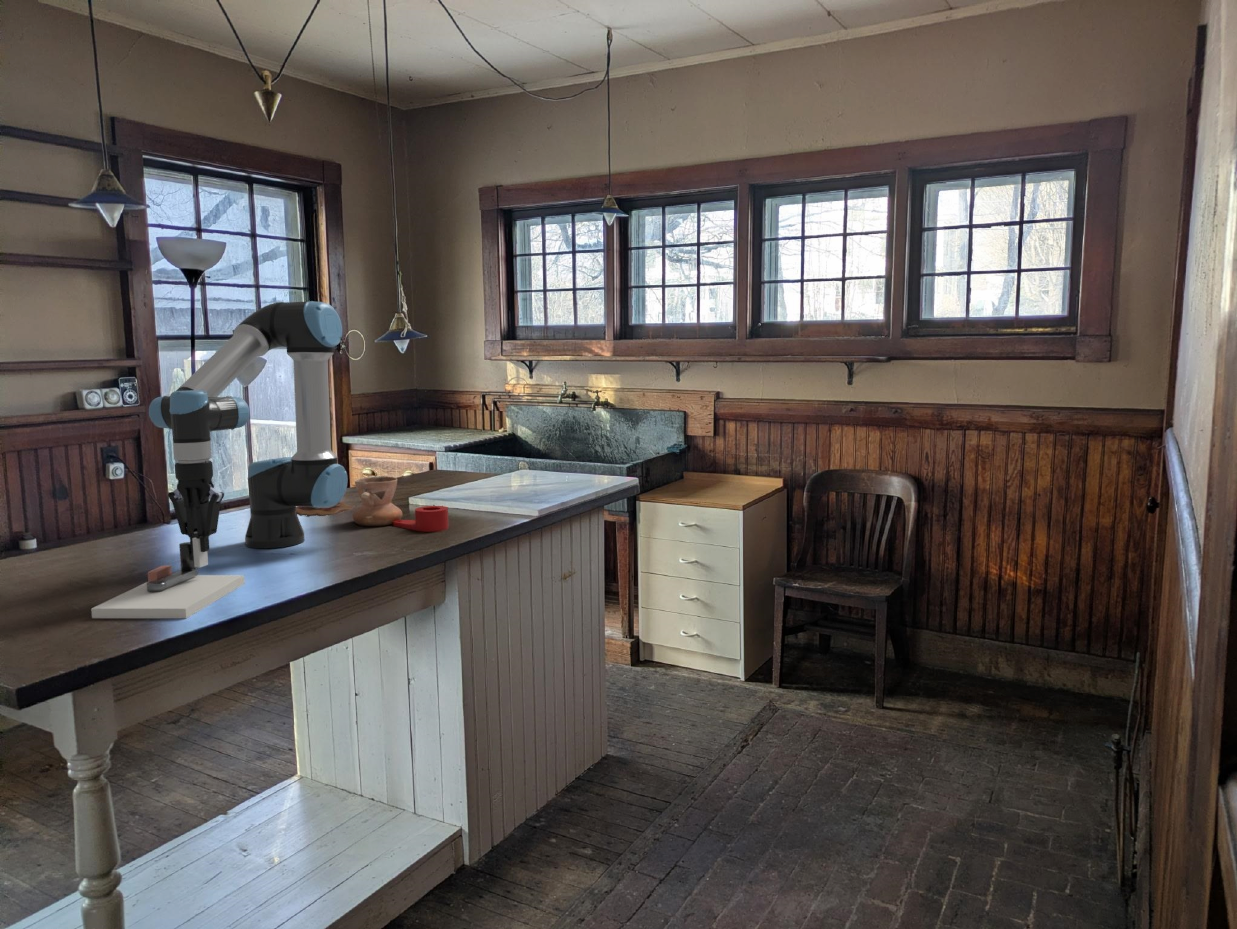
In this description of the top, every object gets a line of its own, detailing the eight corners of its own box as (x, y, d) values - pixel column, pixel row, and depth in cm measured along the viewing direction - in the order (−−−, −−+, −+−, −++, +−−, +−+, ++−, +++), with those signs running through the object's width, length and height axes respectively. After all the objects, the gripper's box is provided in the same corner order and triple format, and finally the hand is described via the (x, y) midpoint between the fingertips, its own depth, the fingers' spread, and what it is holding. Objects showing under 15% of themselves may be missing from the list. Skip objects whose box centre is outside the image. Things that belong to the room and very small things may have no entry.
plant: (321, 508, 299) (319, 475, 298) (365, 512, 291) (364, 478, 289) (274, 518, 282) (272, 483, 280) (320, 523, 273) (318, 487, 272)
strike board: (162, 583, 201) (160, 562, 201) (244, 583, 201) (243, 562, 200) (92, 618, 176) (89, 593, 175) (186, 618, 175) (184, 593, 175)
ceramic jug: (389, 531, 258) (387, 483, 256) (342, 530, 260) (340, 482, 258) (413, 520, 275) (411, 474, 273) (369, 518, 278) (367, 474, 276)
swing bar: (158, 591, 186) (155, 557, 185) (143, 591, 187) (140, 556, 186) (200, 574, 200) (198, 542, 199) (185, 574, 201) (183, 541, 200)
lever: (454, 529, 261) (454, 506, 261) (437, 535, 253) (436, 512, 252) (403, 525, 268) (402, 503, 267) (384, 531, 259) (383, 508, 259)
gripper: (230, 459, 196) (237, 563, 199) (180, 458, 199) (188, 560, 202) (206, 463, 189) (214, 571, 192) (155, 462, 192) (164, 568, 195)
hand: (201, 565), depth 197 cm, fingers closed
